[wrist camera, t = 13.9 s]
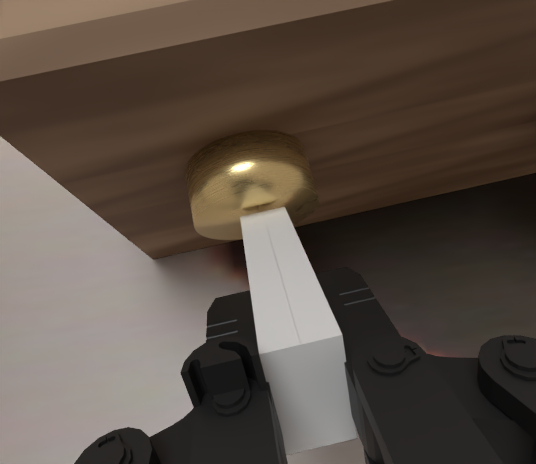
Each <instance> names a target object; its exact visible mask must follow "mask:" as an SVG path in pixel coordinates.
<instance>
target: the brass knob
mask: <svg viewBox="0 0 536 464" xmlns="http://www.w3.org/2000/svg"><path fill="white" fill-rule="evenodd" d="M185 177H186V183H187V189H188V194H189V200H190V206H191V212H192V217H193V223H194V228H195V230H196V231H197V233H199V234H200V235H202V236H204V237H207V238H211V239H218V240H239V239H243V235H242V228H241V220H240V217H241V216H246V215H250V214H255V213H259V212H264V211H268V210H272V209H277V208H281V207H285V209H286V211H287V213H288V215H289V217H290V220H291V222H292V224H293V225H295V224H297V223H298V222H300V221H302V220H304V219H305V218H306V217H308V216H309V215H310V214H312V213H313V212H314V210H315V209H316V208H317V206H318V204H319V197H318V194H317V191H316V187H315V184H314V180H313V177H312V173H311V170H310V167H309V163H308V160H307V156H306V153H305V150H304V146H303V144H302V143H301V142H300V141H299V140H298V139H297V138H295V137H294V136H292V135H290V134H287V133H284V132H279V131H272V130H255V131H247V132H241V133H237V134H233V135H229V136H226V137H223V138H221V139H218V140H216V141H214V142H212V143H210V144H208V145H206V146H205V147H203V148H202V149H200V150H199V151H198V152H197V153H195V154H194V156H193V157H192V158H191V159H190V160H189V162H188V163H187V166H186V169H185Z"/></svg>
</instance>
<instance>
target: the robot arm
mask: <svg viewBox="0 0 536 464" xmlns="http://www.w3.org/2000/svg"><path fill="white" fill-rule="evenodd" d="M240 220H241V228H242V235H243V242H244V249H245V256H246V264H247V271H248V278H249V285H250V290H249V291H245V292H240V293H236V294H232V295H228V296H223V297H219V298H215V300H214V302H213V303H212V305H211V307H210V308H209V310H208V311H207V333H206V337H207V340H206V343H205V344H203V345H202V346H200V347H199V348H197V349H196V350H194V351H193V352H192V353H191V354H190V356H189V357H188V358H187V359H186V360H185V362H184V364H183V367H182V370H181V375H182V378H183V381H184V383H185V386H186V388H187V391H188V394H189V396H190V399H191V401H192V404H193V407H194V408H193V409H192V411H191V412H189V413H188V414H187V415H186V416H185V417H184V418H183V419H181V420H180V421H178V422H177V423H175V424H174V425H172V426H170V427H168V428H166V429H164V430H163V431H161V432H159V433H157V434H155V435H153V436H151V437H148V436H147V435H146V434H145V433H144V432H143V431H142V430H140V429H135V428H129V427H128V428H123V429H118V430H114V431H112V432H110V433H108V434H106V435H104V436H102V437H100V438H98V439H97V440H96V441H95V442H93V443H92V444H91V445H90V446H89V447H88V448H86V449H85V450H84V451H83V453H82V454H81V455H80V457H79V458H78V459H77V461H76V462H75V463H74V464H287V458H286V455H290V454H294V453H298V452H302V451H306V450H310V449H314V448H319V447H323V446H328V445H332V444H336V443H340V442H344V441H348V440H352V439H356V438H357V433H356V428H357V431H358V434H359V436H360V439H361V442H362V444H363V447H364V454H365V461H366V464H536V339H533V338H529V337H525V336H500V337H497V338H493V339H490V340H489V341H487V342H486V343H485V344H484V345H482V346H481V349H480V352H479V355H478V358H450V357H439V356H434V355H430V354H426V352H425V351H424V350H423V349H422V348H421V347H420V346H419V345H417V344H416V343H414V342H412V341H410V340H408V339H406V338H404V337H401V336H400V334H399V333H398V331H397V330H396V328H395V327H394V325H393V324H392V322H391V321H390V319H389V318H388V316H387V315H386V313H385V312H384V310H383V309H382V307H381V306H380V304H379V302H378V301H377V299H375V297H374V295H373V293H372V292H371V290H370V289H368V286H367V284H366V283H365V281H364V280H363V278H362V277H361V275H360V274H358V273H356V272H354V271H353V270H351V269H349V268H348V267H343V268H339V269H334V270H330V271H326V272H321V273H317V274H315V273H314V271H313V268H312V266H311V264H310V262H309V260H308V257H307V255H306V253H305V251H304V249H303V246H302V244H301V242H300V240H299V237H298V235H297V233H296V231H295V229H294V226H293V224H292V222H291V220H290V217H289V215H288V213H287V211H286V209H285V207H281V208H277V209H272V210H268V211H264V212H259V213H255V214H250V215H246V216H241V217H240Z"/></svg>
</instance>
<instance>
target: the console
mask: <svg viewBox="0 0 536 464" xmlns="http://www.w3.org/2000/svg"><path fill="white" fill-rule="evenodd" d="M255 130H272V131H279V132H284V133H287V134H290V135H292V136H294V137H295V138H297V139H298V140H299V141H300V142H301V143H302V144H303V146H304V150H305V153H306V156H307V160H308V163H309V167H310V170H311V173H312V177H313V180H314V184H315V187H316V191H317V194H318V197H319V204H318V206H317V208H316V209H315V210H314V212H313V213H312V214H310V215H309V216H308V217H306V218H305V219H304V220H302V221H300V222H298V223H297V224H295V225H293V226H294V227H298V226H303V225H307V224H311V223H316V222H320V221H325V220H329V219H333V218H338V217H342V216H347V215H351V214H356V213H360V212H364V211H369V210H373V209H378V208H382V207H387V206H391V205H395V204H400V203H404V202H409V201H413V200H418V199H422V198H426V197H431V196H435V195H440V194H444V193H449V192H453V191H457V190H462V189H466V188H471V187H475V186H479V185H484V184H488V183H493V182H497V181H502V180H506V179H510V178H515V177H519V176H524V175H528V174H533V173H536V0H0V136H1V137H2V138H4V139H5V140H6V141H7V142H9V143H10V144H11V145H12V146H13V147H15V148H16V149H17V150H18V151H20V152H21V153H22V154H23V155H25V156H26V157H27V158H28V159H30V160H31V161H32V162H33V163H34V164H36V165H37V166H38V167H39V168H41V169H42V170H43V171H44V172H46V173H47V174H48V175H49V176H51V177H52V178H53V179H54V180H56V181H57V182H58V183H59V184H60V185H62V186H63V187H64V188H65V189H67V190H68V191H69V192H70V193H72V194H73V195H74V196H75V197H77V198H78V199H79V200H80V201H81V202H83V203H84V204H85V205H86V206H88V207H89V208H90V209H91V210H93V211H94V212H95V213H96V214H98V215H99V216H100V217H101V218H103V219H104V220H105V221H106V222H107V223H109V224H110V225H111V226H112V227H114V228H115V229H116V230H117V231H119V232H120V233H121V234H122V235H124V236H125V237H126V238H127V239H128V240H130V241H131V242H132V243H133V244H135V245H136V246H137V247H138V248H140V249H141V250H142V251H143V252H145V253H146V254H147V255H148V256H150V257H151V258H152V259H157V258H161V257H165V256H170V255H174V254H179V253H183V252H187V251H192V250H196V249H201V248H205V247H210V246H214V245H218V244H223V243H227V242H232V241H236V240H218V239H211V238H207V237H204V236H202V235H200V234H199V233H197V231H196V230H195V228H194V223H193V217H192V212H191V206H190V200H189V194H188V189H187V183H186V177H185V169H186V166H187V163H188V162H189V160H190V159H191V158H192V157H193V156H194V154H195V153H197V152H198V151H199V150H200V149H202V148H203V147H205V146H206V145H208V144H210V143H212V142H214V141H216V140H218V139H221V138H223V137H226V136H229V135H233V134H237V133H241V132H247V131H255ZM239 240H241V239H239Z"/></svg>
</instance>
